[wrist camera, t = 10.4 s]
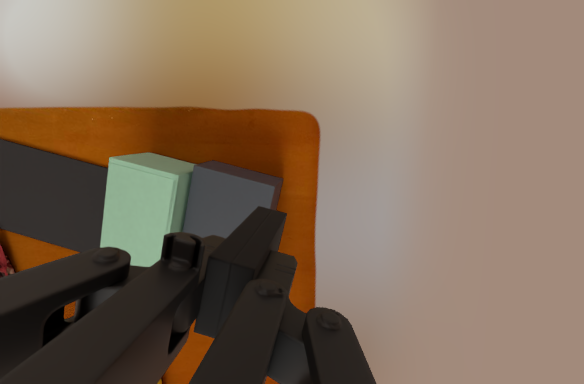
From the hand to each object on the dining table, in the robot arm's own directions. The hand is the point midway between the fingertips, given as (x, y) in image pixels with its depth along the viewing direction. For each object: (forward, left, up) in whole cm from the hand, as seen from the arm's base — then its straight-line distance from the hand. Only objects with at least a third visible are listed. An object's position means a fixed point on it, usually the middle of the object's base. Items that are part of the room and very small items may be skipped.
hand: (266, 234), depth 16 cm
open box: (+11, -14, -22) cm, 28 cm away
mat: (+14, -31, -26) cm, 43 cm away
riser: (+11, -8, -26) cm, 30 cm away
